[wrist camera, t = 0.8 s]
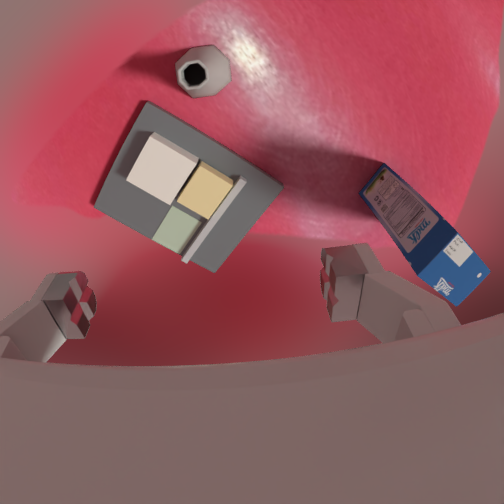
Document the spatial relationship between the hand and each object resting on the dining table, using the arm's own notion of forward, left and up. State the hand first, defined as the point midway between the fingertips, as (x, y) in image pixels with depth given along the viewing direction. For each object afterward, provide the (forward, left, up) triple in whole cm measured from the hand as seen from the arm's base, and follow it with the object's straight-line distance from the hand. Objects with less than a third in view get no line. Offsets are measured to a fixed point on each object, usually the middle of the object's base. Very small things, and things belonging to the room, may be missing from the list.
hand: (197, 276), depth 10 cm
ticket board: (+13, +2, -34) cm, 37 cm away
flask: (-3, -5, -35) cm, 35 cm away
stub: (+10, +4, -33) cm, 34 cm away
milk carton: (-5, +28, -34) cm, 44 cm away
